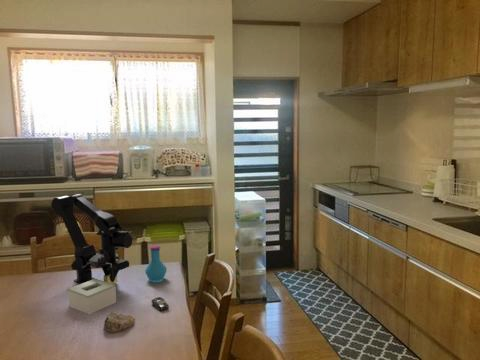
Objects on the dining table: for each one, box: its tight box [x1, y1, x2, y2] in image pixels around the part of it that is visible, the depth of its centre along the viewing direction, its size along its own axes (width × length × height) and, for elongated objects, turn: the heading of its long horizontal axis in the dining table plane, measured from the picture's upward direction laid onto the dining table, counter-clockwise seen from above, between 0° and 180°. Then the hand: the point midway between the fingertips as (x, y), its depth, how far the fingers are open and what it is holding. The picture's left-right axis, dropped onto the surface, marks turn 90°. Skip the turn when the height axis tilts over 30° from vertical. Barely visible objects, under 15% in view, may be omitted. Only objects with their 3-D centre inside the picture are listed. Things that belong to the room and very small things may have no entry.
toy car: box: [148, 280, 170, 312], centre depth 149 cm, size 4×12×8 cm, turn 39°
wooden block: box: [103, 273, 118, 285], centre depth 169 cm, size 2×5×4 cm, turn 146°
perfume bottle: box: [144, 245, 168, 283], centre depth 174 cm, size 9×9×15 cm
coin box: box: [67, 278, 117, 315], centre depth 151 cm, size 12×12×7 cm
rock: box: [103, 311, 136, 334], centre depth 133 cm, size 9×6×10 cm
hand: (110, 281), depth 169 cm, fingers closed on wooden block, 2 cm apart
